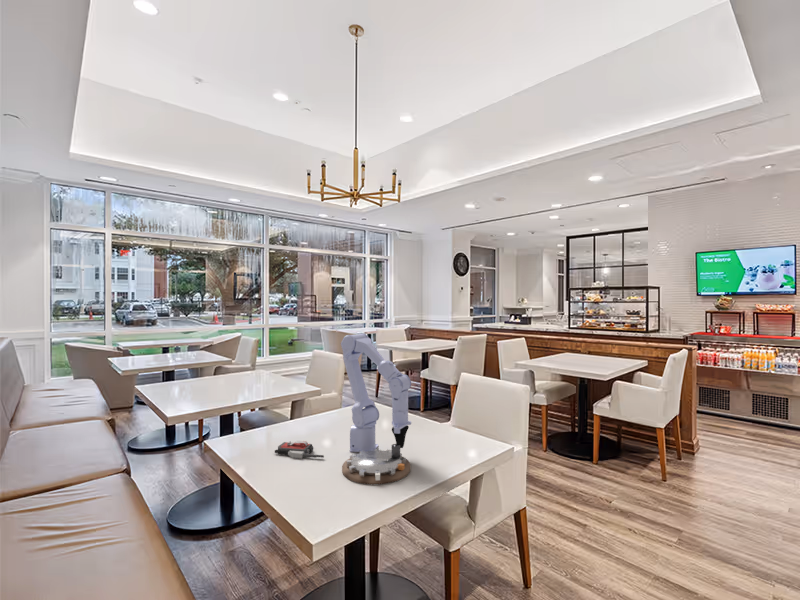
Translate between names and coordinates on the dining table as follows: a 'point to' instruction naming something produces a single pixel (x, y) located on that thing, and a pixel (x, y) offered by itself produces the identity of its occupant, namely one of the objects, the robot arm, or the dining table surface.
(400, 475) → the sprocket base
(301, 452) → the walkie-talkie
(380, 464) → the sprocket
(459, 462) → the dining table surface
